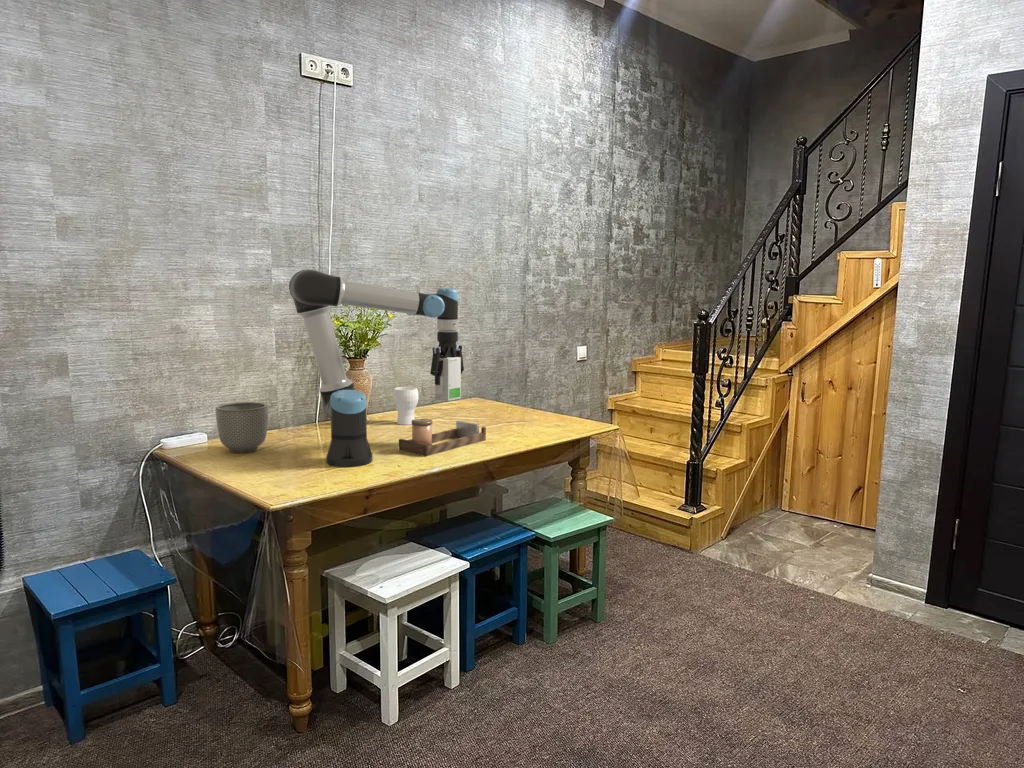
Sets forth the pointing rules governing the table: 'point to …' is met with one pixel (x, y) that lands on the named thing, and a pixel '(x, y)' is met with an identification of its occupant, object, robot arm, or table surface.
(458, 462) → the table surface
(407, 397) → the cup
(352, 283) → the robot arm
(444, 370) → the skincare box
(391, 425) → the table surface
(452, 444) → the frame
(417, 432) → the jar
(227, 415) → the planter
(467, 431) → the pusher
